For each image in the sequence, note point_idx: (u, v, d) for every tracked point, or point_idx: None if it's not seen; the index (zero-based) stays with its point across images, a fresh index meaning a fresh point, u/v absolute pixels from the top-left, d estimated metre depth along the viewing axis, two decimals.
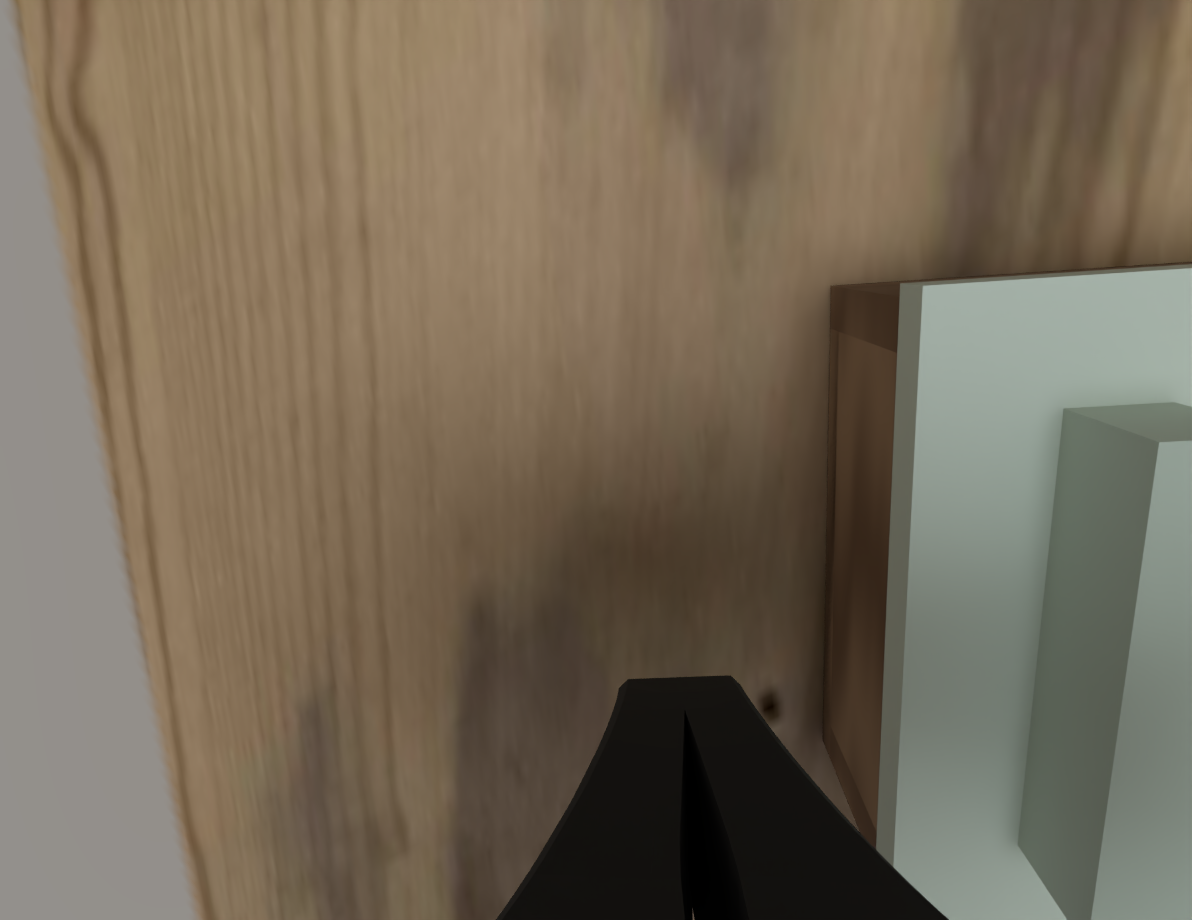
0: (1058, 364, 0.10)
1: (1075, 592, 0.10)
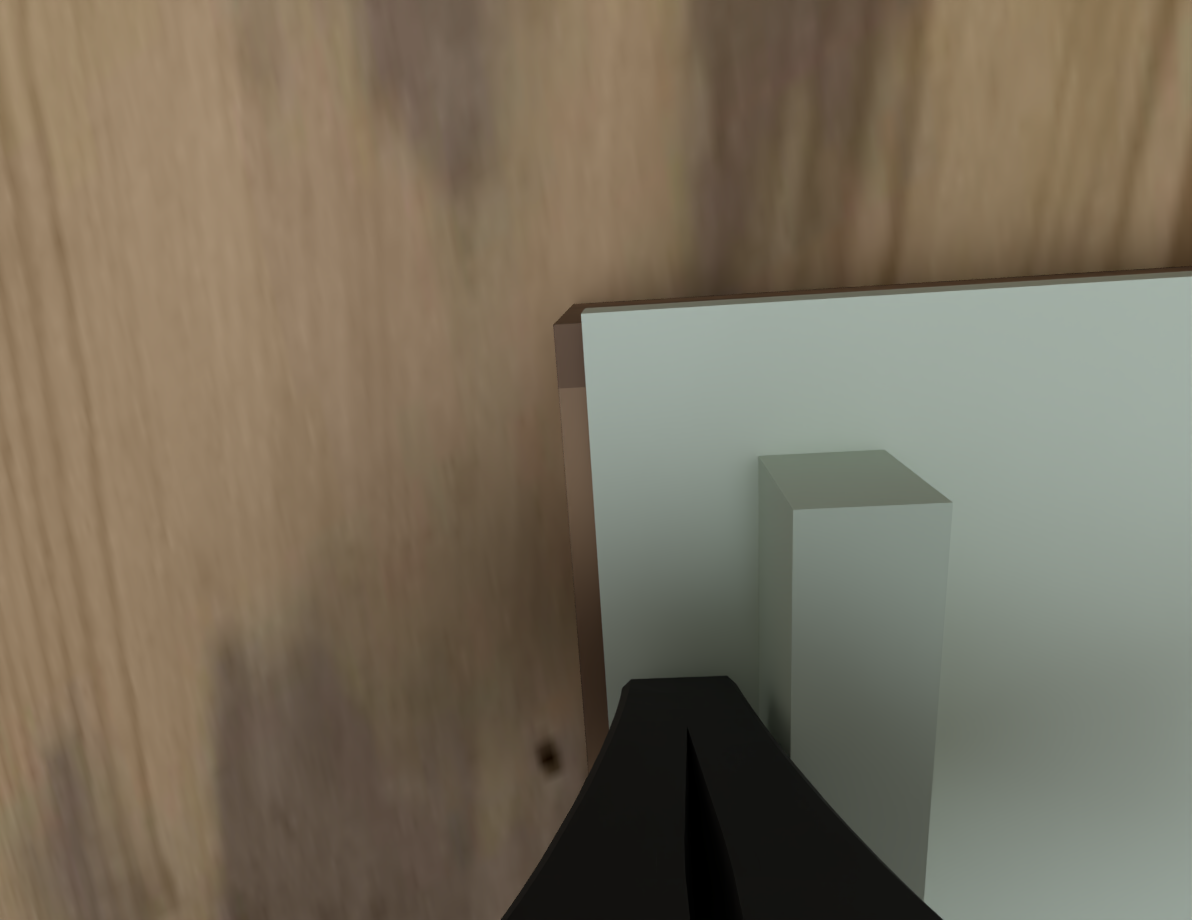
0: (747, 405, 0.08)
1: (769, 669, 0.08)
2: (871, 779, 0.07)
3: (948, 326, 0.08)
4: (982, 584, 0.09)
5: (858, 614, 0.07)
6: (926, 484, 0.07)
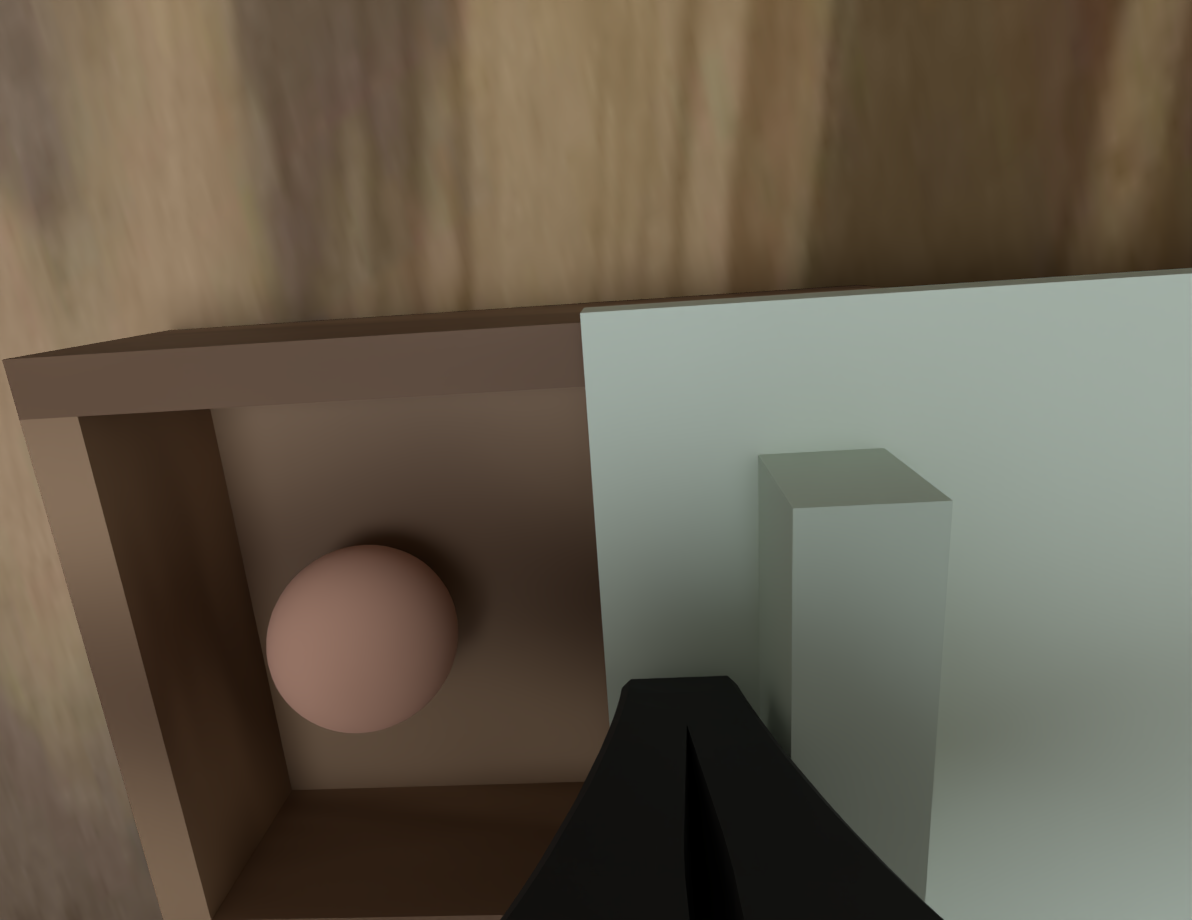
0: (746, 404, 0.08)
1: (770, 668, 0.08)
2: (872, 778, 0.07)
3: (948, 324, 0.08)
4: (983, 582, 0.09)
5: (859, 612, 0.07)
6: (926, 482, 0.07)
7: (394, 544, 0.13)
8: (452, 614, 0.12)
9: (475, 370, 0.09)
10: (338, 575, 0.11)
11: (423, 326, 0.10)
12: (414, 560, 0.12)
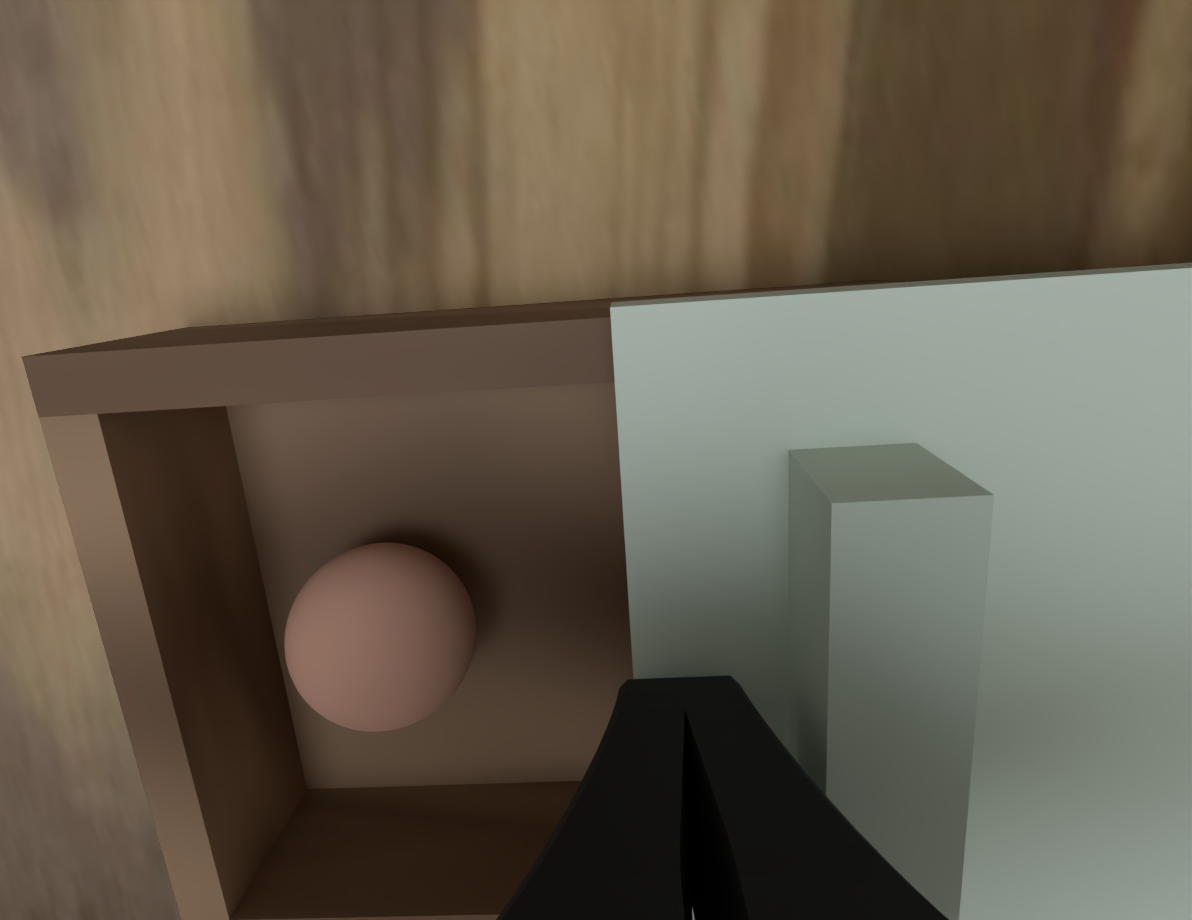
0: (777, 399, 0.08)
1: (801, 665, 0.08)
2: (907, 776, 0.07)
3: (982, 317, 0.08)
4: (1016, 578, 0.09)
5: (897, 608, 0.07)
6: (964, 477, 0.07)
7: (410, 542, 0.13)
8: (470, 612, 0.12)
9: (498, 366, 0.09)
10: (357, 573, 0.11)
11: (443, 322, 0.10)
12: (432, 558, 0.12)
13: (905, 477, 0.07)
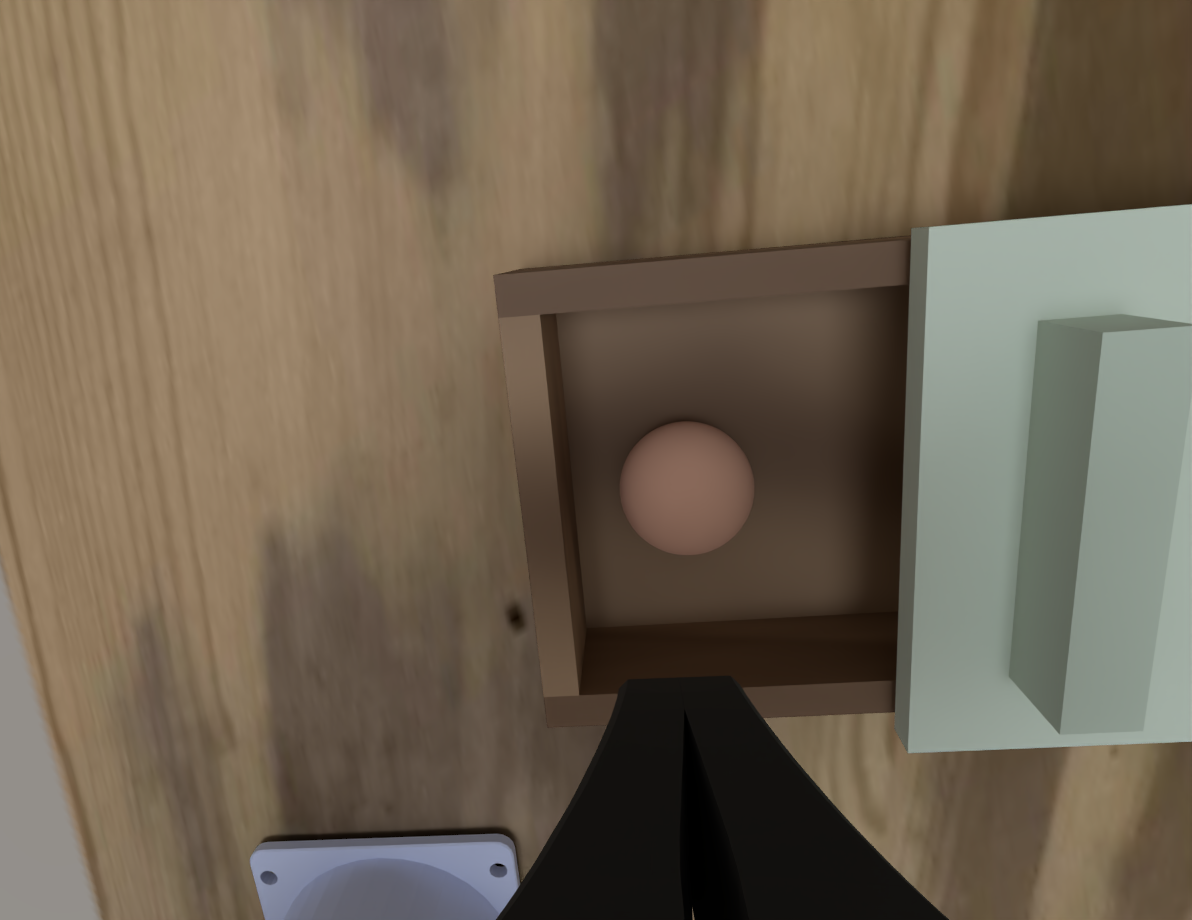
0: (1033, 286, 0.12)
1: (1048, 461, 0.13)
2: (1134, 512, 0.12)
3: (1171, 229, 0.12)
4: None
5: (1137, 400, 0.11)
6: (1174, 321, 0.11)
7: None
8: (751, 470, 0.16)
9: (822, 275, 0.14)
10: (684, 435, 0.16)
11: (766, 250, 0.14)
12: (721, 431, 0.16)
13: (1135, 323, 0.11)
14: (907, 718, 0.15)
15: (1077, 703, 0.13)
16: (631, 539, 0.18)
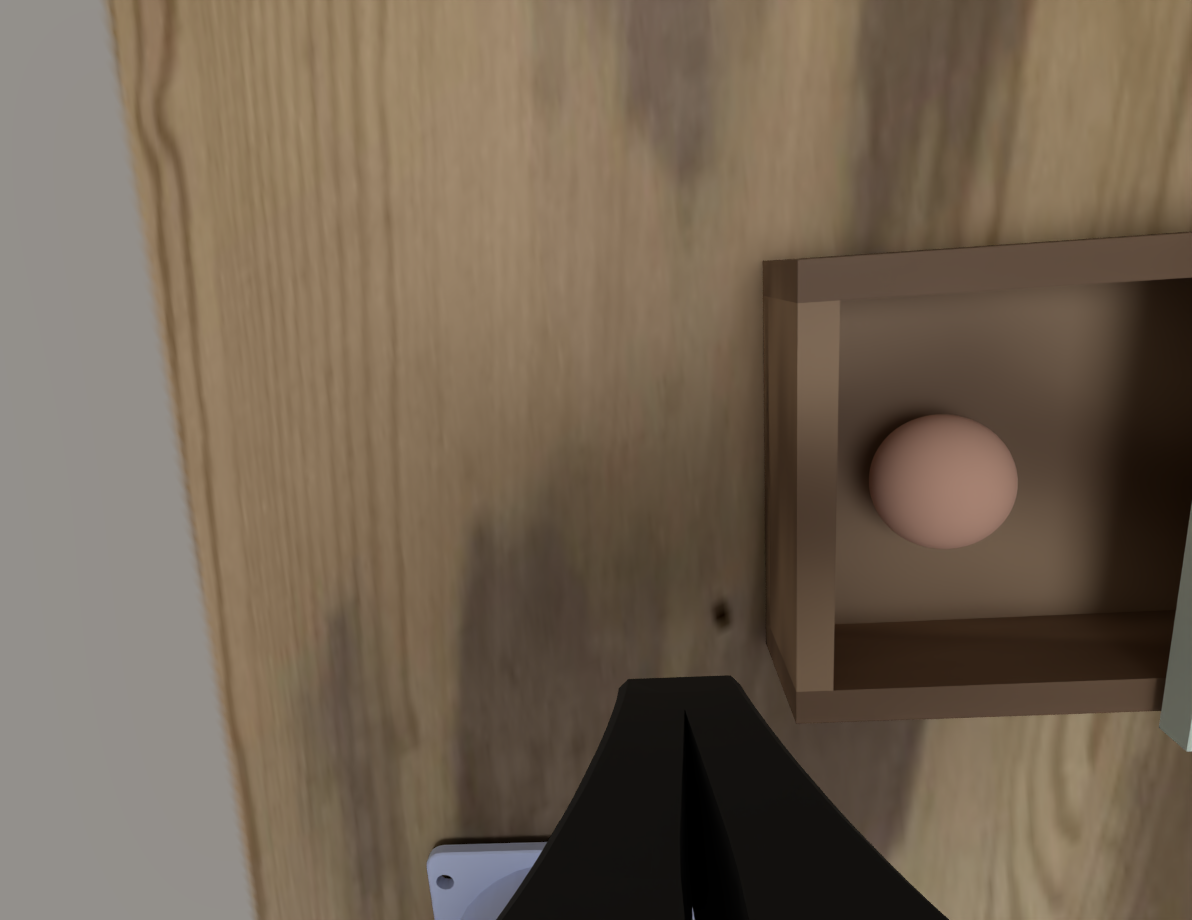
0: None
1: None
2: None
3: None
4: None
5: None
6: None
7: None
8: None
9: (1131, 265, 0.14)
10: (955, 427, 0.15)
11: None
12: None
13: None
14: (1188, 715, 0.15)
15: None
16: (856, 535, 0.18)
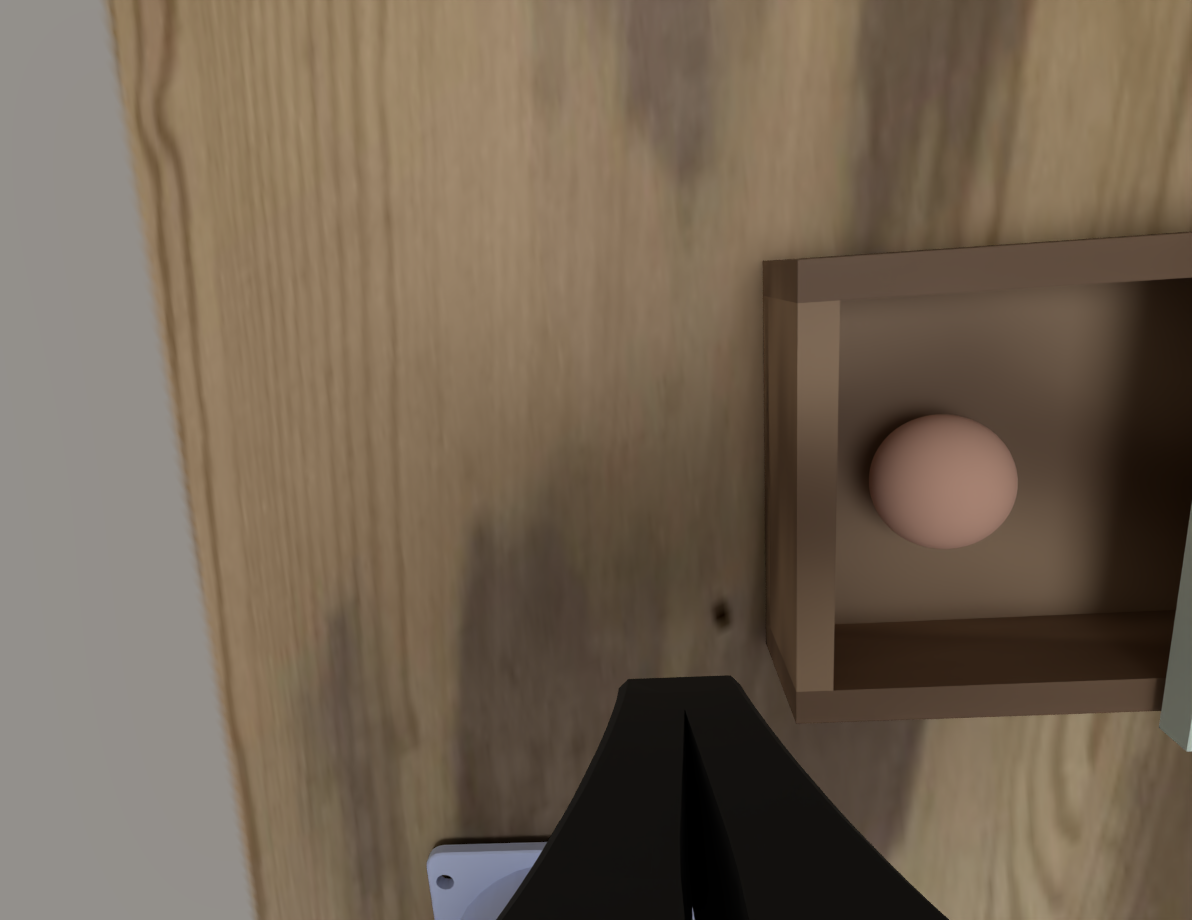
0: None
1: None
2: None
3: None
4: None
5: None
6: None
7: None
8: None
9: (1131, 265, 0.14)
10: (955, 427, 0.15)
11: None
12: None
13: None
14: (1188, 715, 0.15)
15: None
16: (856, 535, 0.18)
